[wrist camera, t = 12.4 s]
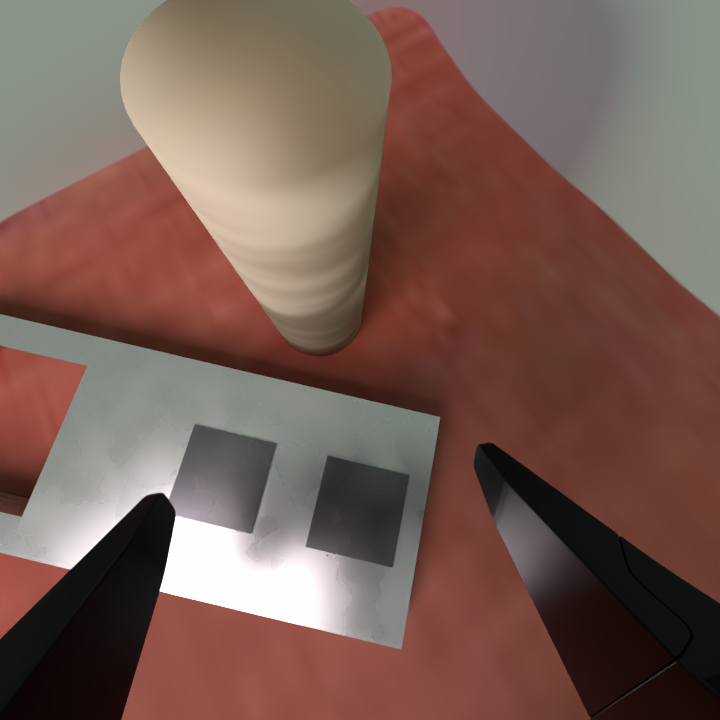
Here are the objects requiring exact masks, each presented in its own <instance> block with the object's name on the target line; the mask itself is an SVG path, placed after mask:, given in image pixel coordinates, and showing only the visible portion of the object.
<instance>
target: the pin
mask: <svg viewBox="0 0 720 720" xmlns="http://www.w3.org/2000/svg"><path fill="white" fill-rule="evenodd" d="M391 81H392V80H391V64H390V59H389V54H388V52H387V49H386V46H385V44H384V41H383V39H382V38H381V36H380V34H379V32H378V30H377V29H376V28H375V26H374V25H373V24H372V22H371V21H370V20H369V19H368V18H367V17H366V16H365V15H364V14H363V13H362V12H361V11H360V10H359V9H358V8H357V7H356V6H355V5H353V4H352V3H350V2H349V1H348V0H167V1H165V2H164V3H163V4H161V5H160V6H159V7H157V8H156V9H155V10H154V11H153V12H152V13H151V14H150V15H149V16H148V17H147V18H146V19H145V20H144V21H143V22H142V23H141V25H140V26H139V27H138V28H137V30H136V31H135V33H134V35H133V36H132V38H131V40H130V42H129V43H128V46H127V48H126V51H125V54H124V56H123V61H122V66H121V74H120V86H121V94H122V99H123V102H124V105H125V108H126V111H127V114H128V115H129V117H130V119H131V121H132V123H133V125H134V126H135V128H136V129H137V131H138V132H139V133H140V135H141V136H142V138H143V139H144V140H145V142H146V143H147V145H148V146H149V148H150V149H151V151H152V152H153V153H154V155H155V156H156V158H157V159H158V160H159V162H160V163H161V165H162V166H163V168H164V169H165V170H166V172H167V173H168V175H169V176H170V178H171V179H172V180H173V182H174V183H175V185H176V186H177V187H178V189H179V190H180V192H181V193H182V195H183V196H184V197H185V199H186V200H187V202H188V203H189V204H190V206H191V207H192V209H193V210H194V212H195V213H196V214H197V216H198V217H199V219H200V220H201V222H202V223H203V224H204V226H205V227H206V229H207V230H208V231H209V233H210V234H211V236H212V237H213V239H214V240H215V241H216V243H217V244H218V246H219V247H220V248H221V250H222V251H223V253H224V254H225V256H226V257H227V258H228V260H229V261H230V263H231V264H232V266H233V267H234V268H235V270H236V271H237V273H238V274H239V275H240V277H241V278H242V280H243V281H244V283H245V284H246V285H247V287H248V288H249V290H250V291H251V292H252V294H253V295H254V297H255V298H256V300H257V301H258V302H259V304H260V305H261V307H262V308H263V310H264V311H265V312H266V314H267V315H268V317H269V318H270V319H271V321H272V322H273V324H274V325H275V327H276V328H277V329H278V331H279V332H280V334H281V335H282V336H283V338H284V339H285V341H286V342H287V343H288V344H289V345H290V346H291V347H293V348H294V349H296V350H297V351H299V352H301V353H304V354H307V355H312V356H326V355H330V354H334V353H336V352H339V351H340V350H342V349H344V348H345V347H346V346H348V345H349V344H350V343H351V342H352V341H353V339H354V338H355V336H356V335H357V333H358V331H359V328H360V325H361V319H362V311H363V303H364V295H365V287H366V280H367V272H368V264H369V256H370V248H371V240H372V232H373V224H374V216H375V208H376V200H377V192H378V184H379V176H380V168H381V160H382V152H383V144H384V136H385V128H386V120H387V112H388V104H389V97H390V89H391Z"/></svg>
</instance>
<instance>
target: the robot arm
mask: <svg viewBox="0 0 720 720" xmlns="http://www.w3.org/2000/svg"><path fill="white" fill-rule="evenodd" d="M474 469H475V472H476V475H477V477H478V480H479V483H480V485H481V488H482V491H483V494H484V496H485V499H486V502H487V504H488V507H489V510H490V513H491V515H492V518H493V520H494V522H495V525H496V527H497V529H498V531H499V533H500V535H501V537H502V539H503V541H504V543H505V545H506V547H507V549H508V551H509V553H510V555H511V557H512V560H513V562H514V564H515V566H516V568H517V570H518V572H519V574H520V576H521V578H522V580H523V582H524V584H525V586H526V588H527V590H528V592H529V594H530V596H531V598H532V600H533V602H534V604H535V606H536V609H537V611H538V613H539V615H540V617H541V619H542V621H543V623H544V625H545V627H546V629H547V631H548V633H549V635H550V637H551V639H552V641H553V643H554V645H555V647H556V649H557V651H558V653H559V655H560V658H561V660H562V662H563V664H564V666H565V668H566V670H567V672H568V674H569V676H570V678H571V680H572V682H573V684H574V686H575V688H576V690H577V692H578V694H579V696H580V698H581V700H582V702H583V704H584V707H585V709H586V711H587V713H588V715H589V716H590V717H591V720H720V603H718V602H717V601H715V600H714V599H712V598H711V597H709V596H708V595H706V594H704V593H703V592H701V591H700V590H698V589H697V588H695V587H694V586H692V585H690V584H689V583H687V582H686V581H684V580H683V579H681V578H680V577H678V576H677V575H675V574H674V573H672V572H671V571H669V570H668V569H666V568H665V567H663V566H662V565H660V564H659V563H658V562H656V561H655V560H653V559H652V558H650V557H649V556H648V555H646V554H645V553H643V552H642V551H641V550H639V549H638V548H636V547H635V546H634V545H632V544H631V543H629V542H628V541H627V540H625V539H624V538H623V537H619V536H618V534H617V533H616V532H614V531H613V530H611V529H610V528H609V527H607V526H606V525H605V524H603V523H602V522H600V521H599V520H598V519H596V518H595V517H594V516H592V515H591V514H589V513H588V512H587V511H585V510H584V509H583V508H581V507H580V506H578V505H577V504H576V503H574V502H573V501H572V500H570V499H569V498H567V497H566V496H565V495H563V494H562V493H561V492H559V491H558V490H556V489H555V488H554V487H552V486H551V485H550V484H548V483H547V482H545V481H544V480H543V479H541V478H540V477H539V476H537V475H536V474H534V473H533V472H532V471H530V470H529V469H528V468H526V467H525V466H523V465H522V464H521V463H519V462H518V461H517V460H515V459H514V458H512V457H511V456H510V455H508V454H507V453H506V452H504V451H503V450H501V449H500V448H499V447H497V446H496V445H494V444H493V443H484V444H479V445H478V446H477V448H476V453H475V458H474ZM175 518H176V512H175V509H174V507H173V505H172V504H171V502H170V501H169V499H168V498H167V496H166V495H165V494H164V493H155V494H149V495H147V496H145V497H144V498H142V499H141V500H140V501H139V502H138V503H137V504H136V505H135V506H134V507H133V508H132V509H131V510H130V511H129V512H128V513H127V514H126V515H125V516H124V517H123V518H122V519H121V520H120V521H119V522H118V523H117V524H116V525H115V526H114V527H113V528H112V529H111V530H110V531H109V532H108V533H107V534H106V535H105V536H104V537H103V538H102V539H101V540H100V541H99V542H98V543H97V544H96V545H95V546H94V547H93V548H92V549H91V550H90V551H89V552H88V553H87V554H86V555H85V556H84V557H83V558H82V559H81V560H80V561H79V562H78V563H77V564H76V565H75V566H74V567H73V568H72V569H71V570H70V571H69V572H68V573H67V574H66V575H65V576H64V577H63V578H62V579H61V580H60V581H59V582H58V583H57V584H56V585H54V586H53V587H52V588H51V589H50V590H49V591H48V592H47V593H46V594H45V595H44V596H43V597H42V598H41V599H40V600H39V601H38V602H37V603H36V604H35V605H34V606H33V607H32V608H31V609H30V610H29V611H28V612H27V613H26V614H25V615H24V616H23V617H22V618H21V619H20V620H19V621H18V622H17V623H16V624H15V625H14V626H13V627H12V628H11V629H10V630H9V631H8V632H7V633H6V634H5V635H4V636H3V637H2V638H1V639H0V720H121V718H122V715H123V712H124V708H125V705H126V702H127V698H128V695H129V692H130V688H131V685H132V682H133V678H134V675H135V672H136V668H137V665H138V662H139V658H140V655H141V652H142V648H143V645H144V642H145V638H146V635H147V632H148V628H149V625H150V622H151V618H152V615H153V612H154V608H155V605H156V602H157V598H158V595H159V592H160V588H161V585H162V581H163V578H164V574H165V569H166V564H167V559H168V554H169V549H170V544H171V539H172V534H173V529H174V524H175Z"/></svg>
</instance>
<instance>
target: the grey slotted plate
mask: <svg viewBox="0 0 720 720" xmlns="http://www.w3.org/2000/svg"><path fill="white" fill-rule="evenodd" d="M0 346H3V347H8V348H12V349H16V350H20V351H25V352H29V353H33V354H37V355H42V356H46V357H50V358H54V359H59V360H63V361H67V362H71V363H76V364H80V365H84V366H87V368H86V371H85V373H84V375H83V377H82V380H81V382H80V384H79V387H78V389H77V391H76V394H75V396H74V398H73V400H72V403H71V405H70V407H69V410H68V412H67V414H66V417H65V419H64V421H63V423H62V426H61V428H60V430H59V433H58V435H57V437H56V440H55V442H54V444H53V446H52V449H51V451H50V453H49V456H48V458H47V460H46V463H45V465H44V467H43V469H42V472H41V474H40V476H39V479H38V481H37V483H36V486H35V488H34V490H33V492H32V495H31V497H30V498H26V497H21V496H17V495H13V494H9V493H5V492H1V491H0V553H4V554H8V555H12V556H16V557H21V558H25V559H29V560H33V561H37V562H41V563H45V564H50V565H54V566H58V567H62V568H66V569H70V570H71V569H72V568H73V567H74V566H75V565H76V564H77V563H78V562H79V561H80V560H81V559H82V558H83V557H84V556H85V555H86V554H87V553H88V552H89V551H90V550H91V549H92V548H93V547H94V546H95V545H96V544H97V543H98V542H99V541H100V540H101V539H102V538H103V537H104V536H105V535H106V534H107V533H108V532H109V531H110V530H111V529H112V528H113V527H114V526H115V525H116V524H117V523H118V522H119V521H120V520H121V519H122V518H123V517H124V516H125V515H126V514H127V513H128V512H129V511H130V510H131V509H132V508H133V507H134V506H135V505H136V504H137V503H138V502H139V501H140V500H141V499H142V498H144V497H145V496H147V495H149V494H155V493H164V494H165V495H166V496H167V498H168V499H169V501H170V502H171V504H172V505H173V507H174V509H175V512H176V518H175V524H174V529H173V534H172V539H171V544H170V549H169V554H168V559H167V564H166V569H165V574H164V578H163V581H162V585H161V588H160V591H162V592H166V593H170V594H174V595H178V596H182V597H186V598H191V599H195V600H199V601H203V602H207V603H211V604H215V605H220V606H224V607H228V608H232V609H236V610H240V611H244V612H249V613H253V614H257V615H261V616H265V617H269V618H273V619H278V620H282V621H286V622H290V623H294V624H298V625H302V626H307V627H311V628H315V629H319V630H323V631H327V632H331V633H336V634H340V635H344V636H348V637H352V638H356V639H360V640H365V641H369V642H373V643H377V644H381V645H385V646H389V647H394V648H398V649H401V648H402V642H403V636H404V630H405V624H406V618H407V612H408V607H409V601H410V595H411V589H412V583H413V577H414V571H415V565H416V559H417V553H418V547H419V541H420V535H421V529H422V523H423V517H424V512H425V506H426V500H427V494H428V488H429V482H430V476H431V470H432V464H433V458H434V452H435V446H436V440H437V434H438V428H439V422H440V417H438V416H433V415H429V414H425V413H421V412H416V411H412V410H408V409H403V408H399V407H395V406H391V405H386V404H382V403H378V402H373V401H369V400H365V399H361V398H356V397H352V396H348V395H344V394H339V393H335V392H331V391H326V390H322V389H318V388H314V387H309V386H305V385H301V384H297V383H292V382H288V381H284V380H279V379H275V378H271V377H267V376H262V375H258V374H254V373H250V372H245V371H241V370H237V369H232V368H228V367H224V366H220V365H215V364H211V363H207V362H203V361H198V360H194V359H190V358H185V357H181V356H177V355H173V354H168V353H164V352H160V351H156V350H151V349H147V348H143V347H138V346H134V345H130V344H126V343H121V342H117V341H113V340H109V339H104V338H100V337H96V336H91V335H87V334H83V333H79V332H74V331H70V330H66V329H62V328H57V327H53V326H49V325H44V324H40V323H36V322H32V321H27V320H23V319H19V318H15V317H10V316H6V315H2V314H0Z"/></svg>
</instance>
